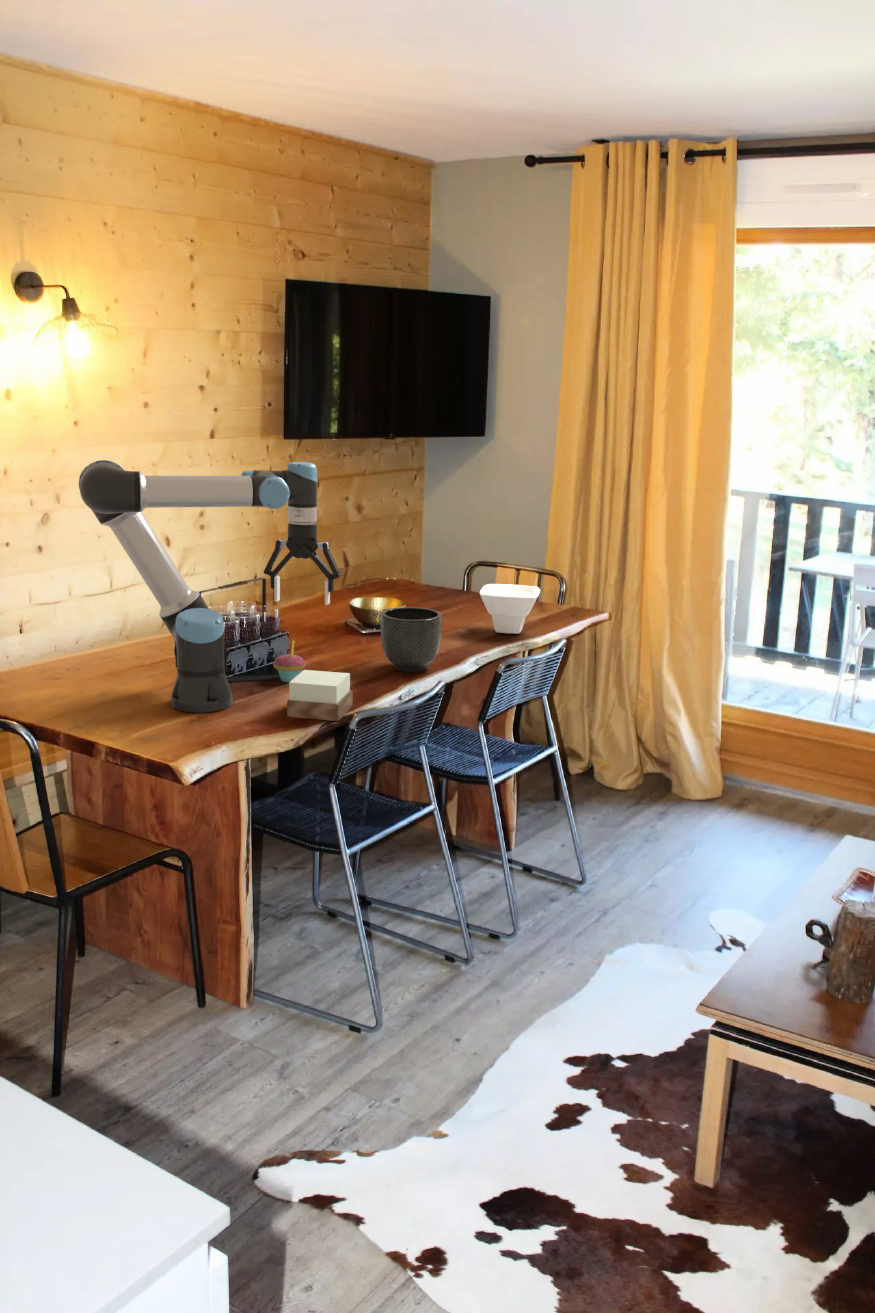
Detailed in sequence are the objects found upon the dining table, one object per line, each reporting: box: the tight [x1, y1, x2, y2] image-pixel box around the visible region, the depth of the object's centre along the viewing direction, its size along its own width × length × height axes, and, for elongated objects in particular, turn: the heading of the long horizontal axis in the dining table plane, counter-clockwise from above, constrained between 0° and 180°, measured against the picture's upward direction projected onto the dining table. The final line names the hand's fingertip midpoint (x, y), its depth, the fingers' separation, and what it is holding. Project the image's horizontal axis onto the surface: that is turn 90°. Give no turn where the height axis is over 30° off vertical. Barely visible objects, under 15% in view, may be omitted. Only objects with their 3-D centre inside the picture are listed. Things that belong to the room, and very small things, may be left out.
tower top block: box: [288, 669, 351, 704], centre depth 287 cm, size 12×12×4 cm
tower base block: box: [286, 689, 354, 722], centre depth 288 cm, size 13×13×4 cm
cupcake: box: [272, 638, 306, 683], centre depth 313 cm, size 9×8×12 cm
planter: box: [380, 606, 443, 673], centre depth 327 cm, size 17×17×16 cm
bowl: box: [479, 583, 541, 635], centre depth 372 cm, size 19×19×14 cm
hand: (302, 602), depth 307 cm, fingers open, 13 cm apart
